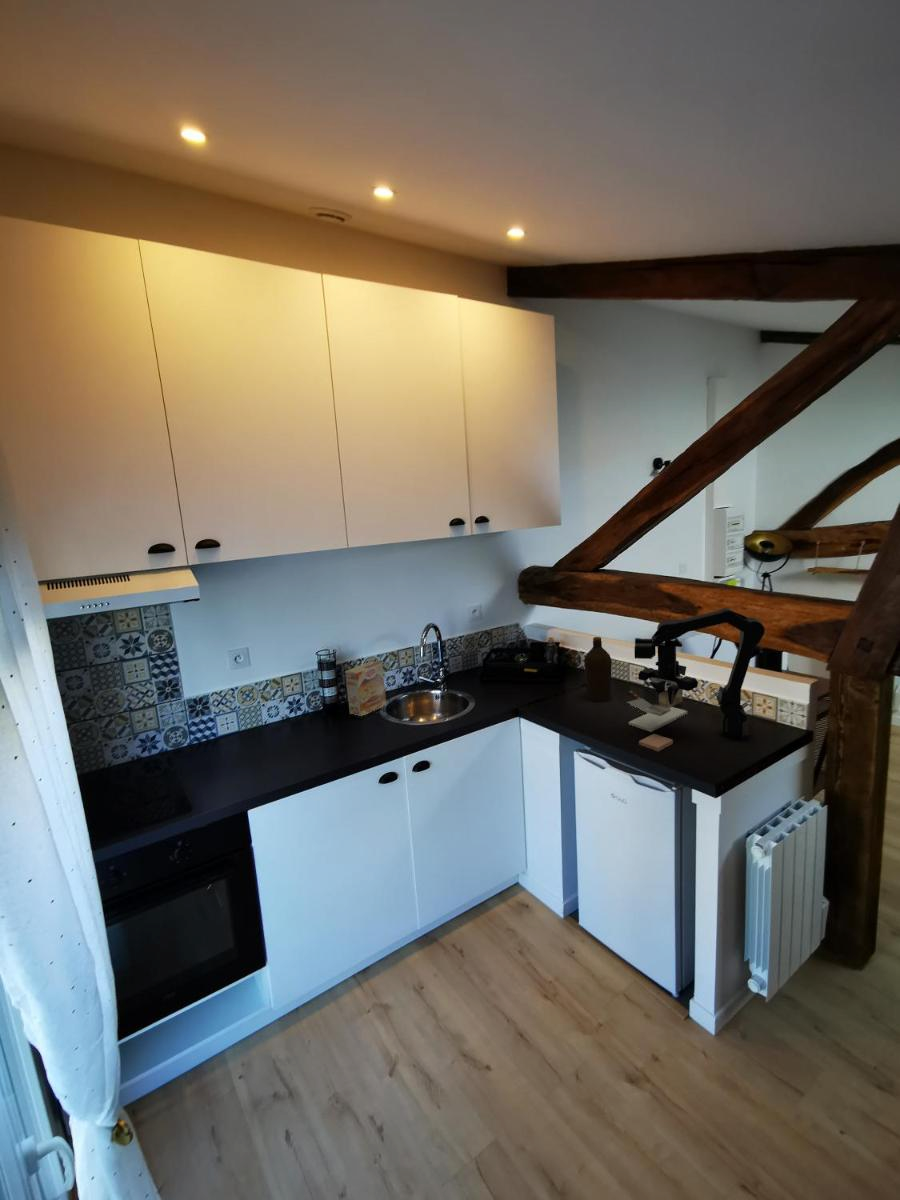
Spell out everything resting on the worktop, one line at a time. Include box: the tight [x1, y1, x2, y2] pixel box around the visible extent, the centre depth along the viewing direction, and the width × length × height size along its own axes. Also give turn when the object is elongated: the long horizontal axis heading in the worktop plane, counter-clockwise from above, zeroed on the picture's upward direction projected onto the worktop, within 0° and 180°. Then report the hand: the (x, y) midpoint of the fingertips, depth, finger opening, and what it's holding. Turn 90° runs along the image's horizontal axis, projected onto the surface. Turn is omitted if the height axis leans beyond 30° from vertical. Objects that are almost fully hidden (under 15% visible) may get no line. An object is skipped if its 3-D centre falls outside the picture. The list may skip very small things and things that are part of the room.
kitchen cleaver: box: [626, 690, 653, 713], centre depth 217 cm, size 24×1×10 cm
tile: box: [638, 733, 674, 752], centre depth 182 cm, size 7×2×8 cm
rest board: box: [628, 706, 688, 733], centre depth 201 cm, size 9×22×1 cm, turn 126°
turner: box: [644, 689, 683, 716], centre depth 188 cm, size 16×6×5 cm, turn 127°
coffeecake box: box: [344, 661, 387, 716], centre depth 229 cm, size 15×7×20 cm, turn 143°
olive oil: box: [583, 636, 613, 703], centre depth 223 cm, size 11×11×25 cm
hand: (667, 703), depth 189 cm, fingers closed on turner, 2 cm apart
